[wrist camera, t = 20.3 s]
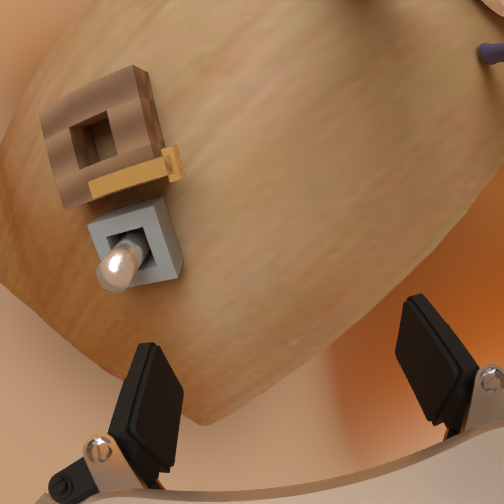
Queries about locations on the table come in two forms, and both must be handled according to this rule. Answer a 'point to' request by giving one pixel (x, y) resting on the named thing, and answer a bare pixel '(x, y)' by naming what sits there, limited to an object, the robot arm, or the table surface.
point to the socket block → (81, 138)
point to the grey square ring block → (157, 232)
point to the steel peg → (123, 261)
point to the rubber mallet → (491, 53)
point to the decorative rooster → (495, 6)
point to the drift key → (140, 173)
